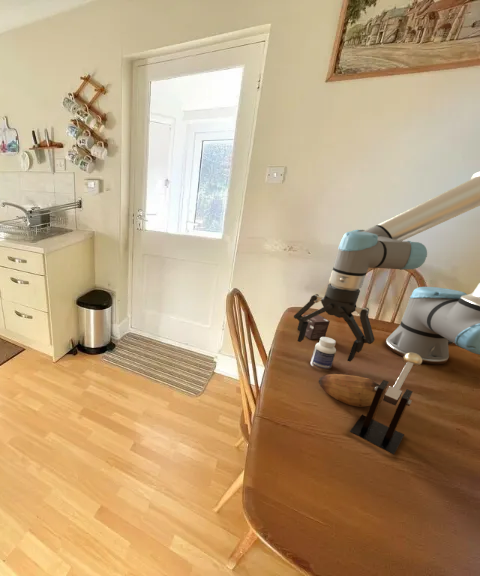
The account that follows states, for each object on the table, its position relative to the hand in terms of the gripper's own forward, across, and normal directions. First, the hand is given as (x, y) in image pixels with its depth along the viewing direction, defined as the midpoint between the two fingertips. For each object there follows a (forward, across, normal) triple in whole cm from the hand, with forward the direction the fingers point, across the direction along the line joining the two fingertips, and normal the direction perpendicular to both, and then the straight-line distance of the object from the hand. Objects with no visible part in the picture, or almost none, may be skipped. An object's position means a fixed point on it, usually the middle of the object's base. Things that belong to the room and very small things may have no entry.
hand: (324, 349), depth 97 cm
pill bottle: (+6, 0, 0) cm, 6 cm away
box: (+6, -10, +20) cm, 23 cm away
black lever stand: (+6, +19, -21) cm, 29 cm away
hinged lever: (-7, +19, -15) cm, 25 cm away
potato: (+6, +11, -12) cm, 18 cm away
